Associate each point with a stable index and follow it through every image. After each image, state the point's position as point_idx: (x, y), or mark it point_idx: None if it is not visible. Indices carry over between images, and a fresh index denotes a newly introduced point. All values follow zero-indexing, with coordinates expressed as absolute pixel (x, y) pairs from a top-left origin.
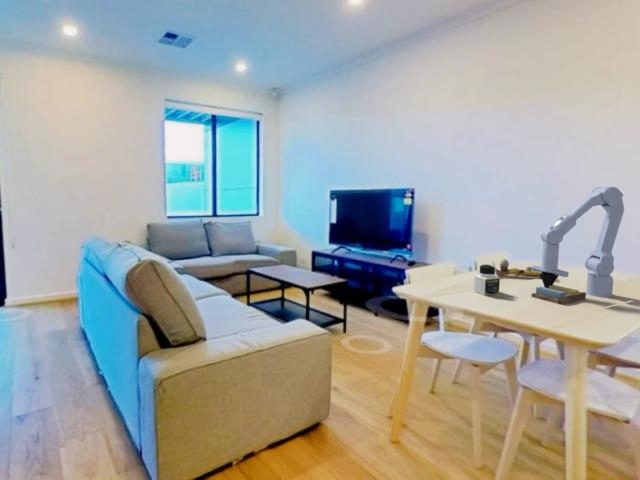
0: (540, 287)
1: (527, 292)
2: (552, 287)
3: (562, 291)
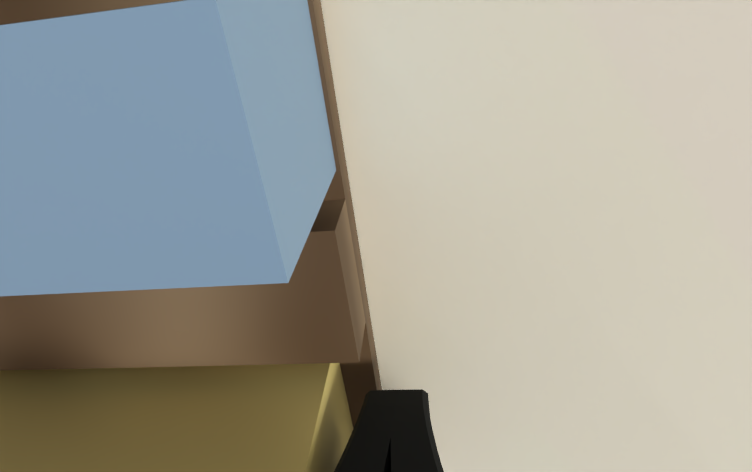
0: (180, 162)
1: (691, 180)
2: (226, 468)
3: (41, 433)
